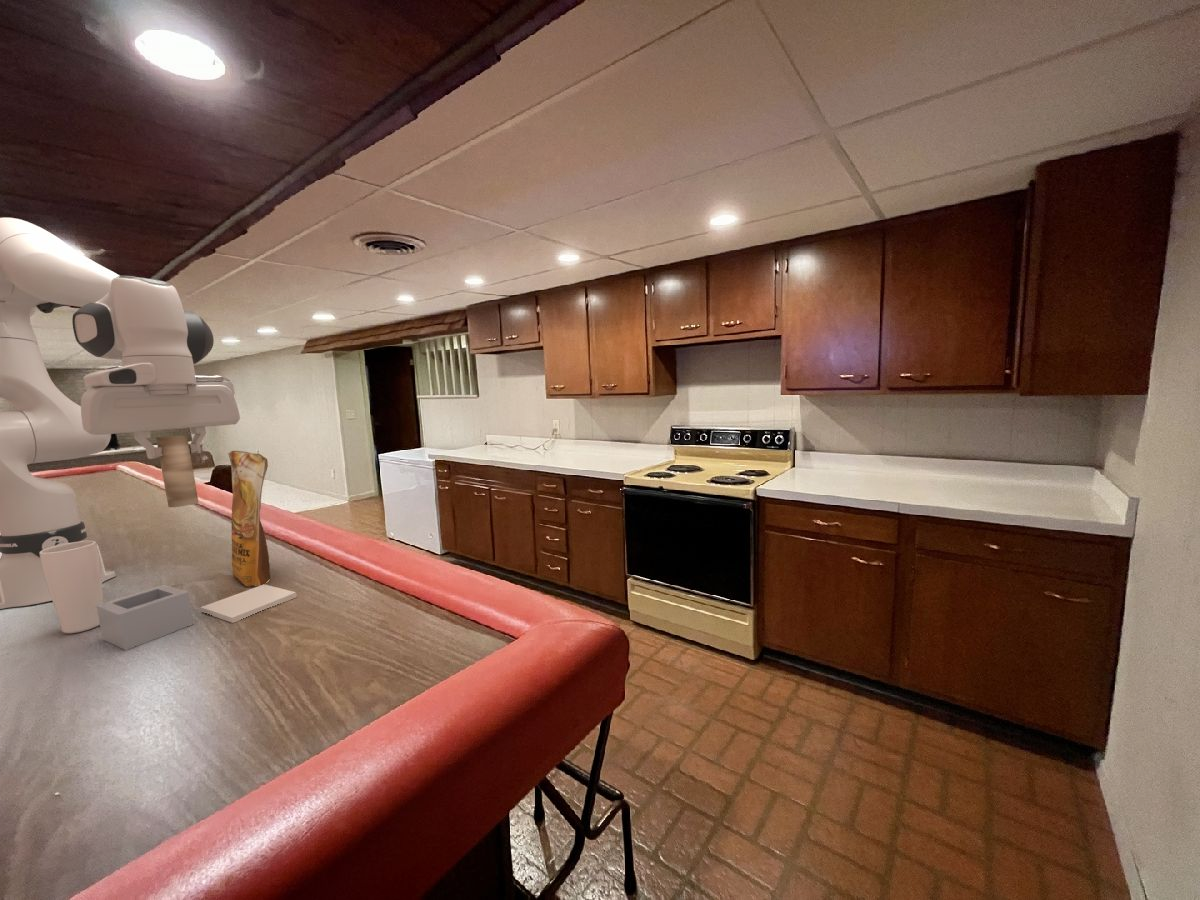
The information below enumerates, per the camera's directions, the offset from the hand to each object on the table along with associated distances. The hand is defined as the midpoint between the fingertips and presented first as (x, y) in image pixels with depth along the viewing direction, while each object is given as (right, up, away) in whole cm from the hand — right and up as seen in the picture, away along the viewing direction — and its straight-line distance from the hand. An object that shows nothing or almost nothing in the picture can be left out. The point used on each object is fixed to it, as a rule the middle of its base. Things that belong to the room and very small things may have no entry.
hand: (175, 455), depth 82 cm
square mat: (+7, -29, +9) cm, 31 cm away
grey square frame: (-4, -30, 0) cm, 31 cm away
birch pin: (+1, -9, +1) cm, 9 cm away
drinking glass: (-18, -31, +2) cm, 36 cm away
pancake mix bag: (-3, -27, +23) cm, 36 cm away
